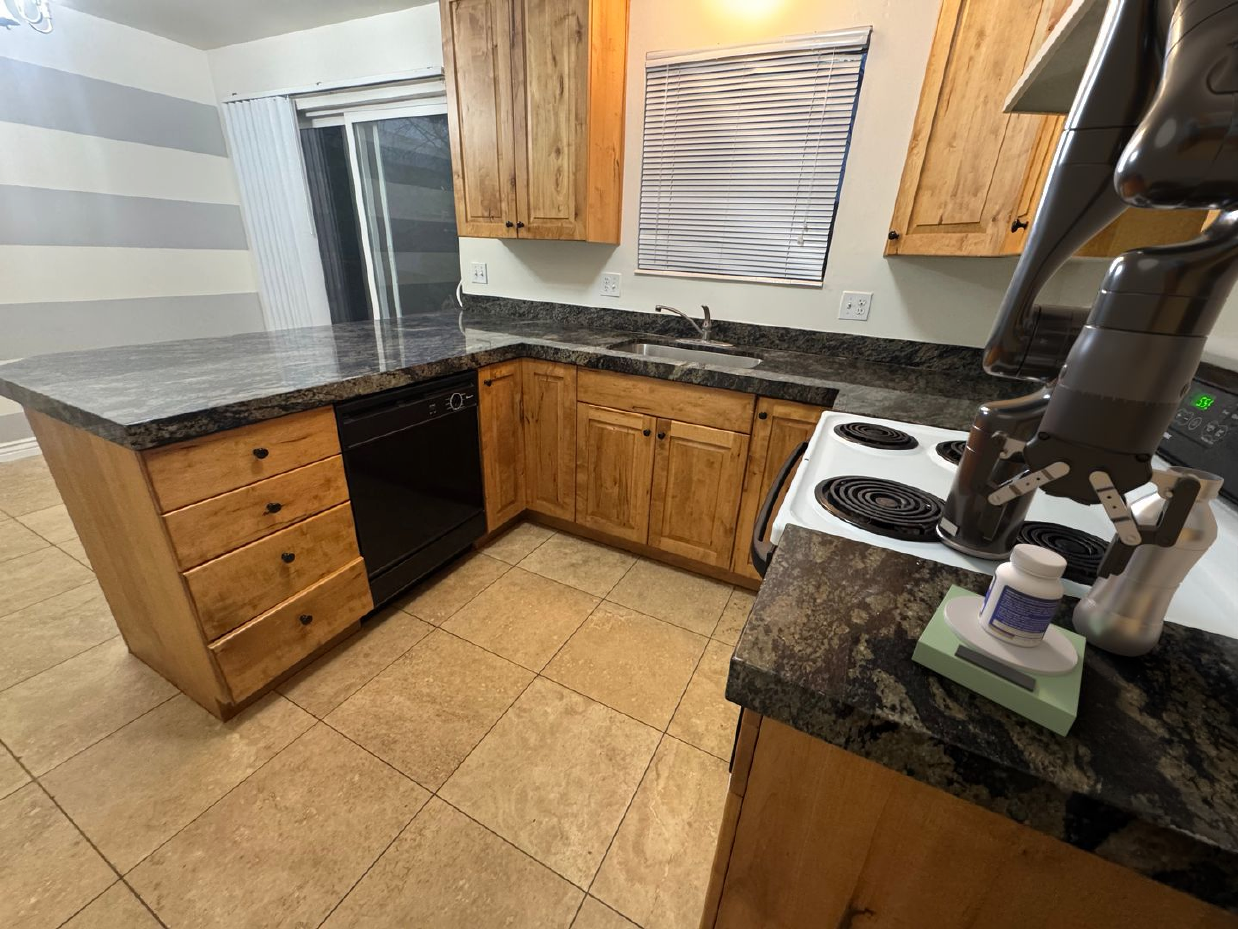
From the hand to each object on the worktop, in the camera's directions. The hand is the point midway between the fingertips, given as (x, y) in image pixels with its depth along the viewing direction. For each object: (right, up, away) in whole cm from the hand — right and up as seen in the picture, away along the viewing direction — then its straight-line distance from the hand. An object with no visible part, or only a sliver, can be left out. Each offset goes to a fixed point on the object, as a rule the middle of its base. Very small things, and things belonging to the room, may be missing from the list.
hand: (1041, 554), depth 47 cm
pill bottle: (-1, -8, +3) cm, 9 cm away
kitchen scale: (-2, -11, +4) cm, 12 cm away
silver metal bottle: (+12, -11, +7) cm, 18 cm away
